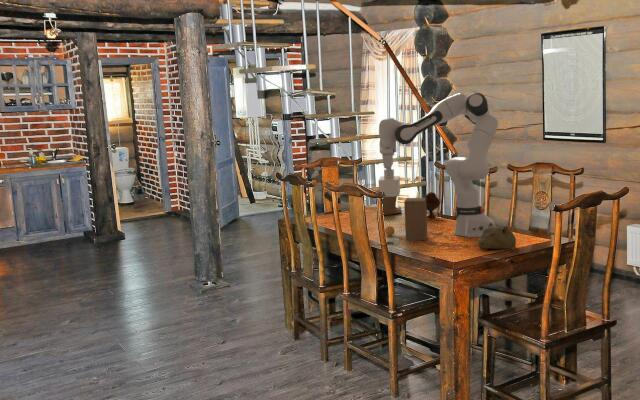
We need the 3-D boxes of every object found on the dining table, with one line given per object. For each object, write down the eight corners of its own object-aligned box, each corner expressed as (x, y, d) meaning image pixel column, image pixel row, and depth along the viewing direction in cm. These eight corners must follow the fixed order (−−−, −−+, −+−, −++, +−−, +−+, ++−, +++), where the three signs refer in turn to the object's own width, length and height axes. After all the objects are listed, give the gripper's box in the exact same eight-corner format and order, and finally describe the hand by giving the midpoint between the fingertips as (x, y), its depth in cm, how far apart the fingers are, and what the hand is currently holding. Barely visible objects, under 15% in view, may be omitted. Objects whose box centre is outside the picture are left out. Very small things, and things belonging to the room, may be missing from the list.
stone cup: (381, 217, 411) (380, 192, 408) (375, 214, 422) (374, 189, 420) (406, 215, 414) (405, 190, 411) (399, 211, 425) (398, 187, 423)
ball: (394, 234, 363) (394, 225, 362) (394, 236, 358) (394, 227, 357) (385, 234, 364) (384, 225, 363) (384, 236, 359) (384, 227, 358)
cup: (381, 192, 379) (380, 168, 377) (400, 191, 378) (399, 167, 376) (379, 196, 365) (378, 171, 363) (398, 196, 363) (397, 171, 361)
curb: (393, 244, 342) (393, 241, 342) (393, 244, 341) (393, 241, 341) (381, 244, 343) (381, 241, 343) (381, 244, 342) (381, 242, 342)
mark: (398, 238, 353) (398, 238, 353) (397, 244, 341) (397, 243, 341) (379, 239, 354) (379, 238, 354) (377, 244, 343) (377, 244, 343)
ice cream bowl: (443, 216, 403) (442, 190, 401) (435, 219, 394) (435, 193, 392) (426, 215, 409) (425, 190, 406) (418, 218, 400) (417, 193, 397)
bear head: (470, 248, 324) (471, 223, 322) (500, 245, 331) (502, 221, 330) (489, 253, 311) (490, 227, 310) (520, 251, 319) (521, 225, 318)
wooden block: (425, 240, 345) (424, 200, 342) (405, 240, 347) (404, 201, 344) (427, 236, 355) (426, 197, 351) (407, 236, 357) (406, 197, 354)
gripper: (383, 147, 378) (384, 172, 380) (380, 151, 358) (381, 177, 360) (395, 147, 377) (396, 172, 379) (392, 150, 357) (393, 177, 359)
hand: (389, 175), depth 370 cm, fingers closed on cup, 3 cm apart
